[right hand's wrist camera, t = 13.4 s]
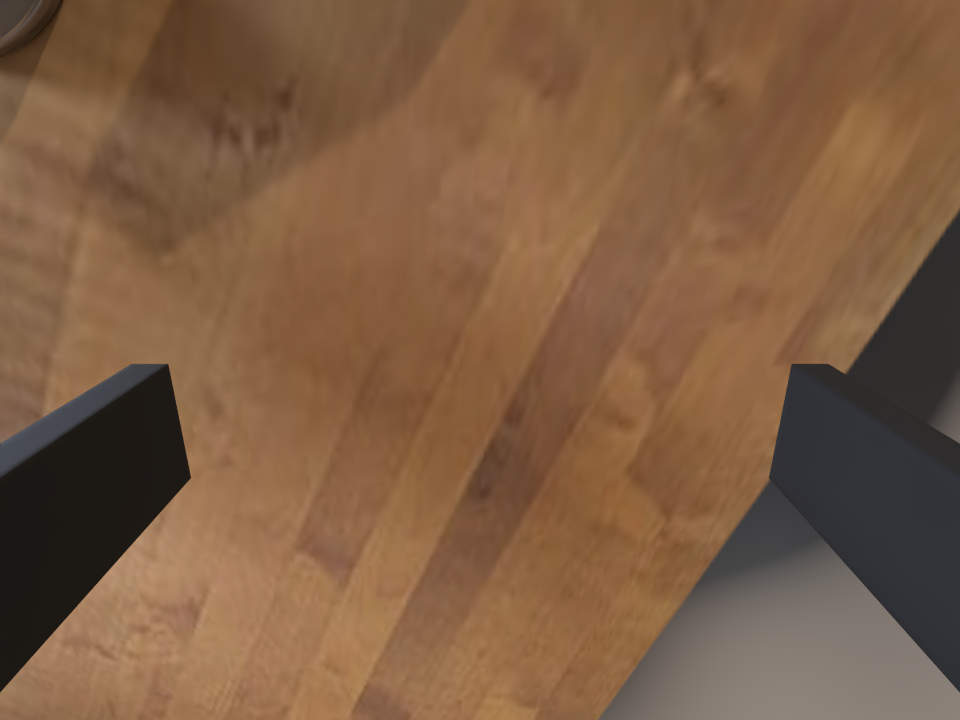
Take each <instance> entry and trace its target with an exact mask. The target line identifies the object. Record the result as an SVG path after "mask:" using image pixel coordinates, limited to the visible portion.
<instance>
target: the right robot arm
mask: <svg viewBox="0 0 960 720" xmlns="http://www.w3.org/2000/svg"><path fill="white" fill-rule="evenodd" d="M60 1H61V0H0V56H2V55H5V54H7V53H10V52H12V51H14V50H16V49H18V48H20V47H22V46H23V45H25V44H26V43H27V42H29V41H30V40H32V39H33V38H34V37H35V36H36V35H37V34H38V33H39V32H40V31H41V30H42V29H43V28H44V27H45V26H46V24H47V23H48V22H49V21H50V19H51V18H52V16H53V14H54V13H55V11H56V10H57V8H58V6H59V3H60ZM190 478H191V476H190V471H189V466H188V461H187V456H186V451H185V446H184V441H183V436H182V431H181V426H180V421H179V416H178V411H177V406H176V401H175V396H174V391H173V386H172V381H171V376H170V371H169V366H168V364H131V365H129V366H128V367H126V368H124V369H123V370H121V371H120V372H118V373H116V374H115V375H113V376H111V377H110V378H108V379H106V380H105V381H103V382H101V383H100V384H98V385H96V386H95V387H93V388H91V389H90V390H88V391H87V392H85V393H83V394H82V395H80V396H78V397H77V398H75V399H73V400H72V401H70V402H68V403H67V404H65V405H63V406H62V407H60V408H58V409H57V410H55V411H54V412H52V413H50V414H49V415H47V416H45V417H44V418H42V419H40V420H39V421H37V422H35V423H34V424H32V425H30V426H29V427H27V428H26V429H24V430H22V431H21V432H19V433H17V434H16V435H14V436H12V437H11V438H9V439H7V440H6V441H4V442H2V443H1V444H0V692H1V691H2V690H3V689H4V687H5V686H6V685H7V684H8V683H9V682H10V681H11V680H12V678H13V677H14V676H15V675H16V674H17V673H18V672H19V671H20V669H21V668H22V667H23V666H24V665H25V664H26V663H27V662H28V660H29V659H30V658H31V657H32V656H33V655H34V654H35V653H36V652H37V650H38V649H39V648H40V647H41V646H42V645H43V644H44V643H45V641H46V640H47V639H48V638H49V637H50V636H51V635H52V634H53V632H54V631H55V630H56V629H57V628H58V627H59V626H60V625H61V623H62V622H63V621H64V620H65V619H66V618H67V617H68V616H69V614H70V613H71V612H72V611H73V610H74V609H75V608H76V607H77V605H78V604H79V603H80V602H81V601H82V600H83V599H84V598H85V596H86V595H87V594H88V593H89V592H90V591H91V590H92V589H93V587H94V586H95V585H96V584H97V583H98V582H99V581H100V580H101V578H102V577H103V576H104V575H105V574H106V573H107V572H108V571H109V569H110V568H111V567H112V566H113V565H114V564H115V563H116V562H117V560H118V559H119V558H120V557H121V556H122V555H123V554H124V553H125V551H126V550H127V549H128V548H129V547H130V546H131V545H132V544H133V542H134V541H135V540H136V539H137V538H138V537H139V536H140V535H141V533H142V532H143V531H144V530H145V529H146V528H147V527H148V526H149V524H150V523H151V522H152V521H153V520H154V519H155V518H156V517H157V515H158V514H159V513H160V512H161V511H162V510H163V509H164V508H165V506H166V505H167V504H168V503H169V502H170V501H171V500H172V499H173V497H174V496H175V495H176V494H177V493H178V492H179V491H180V490H181V488H182V487H183V486H184V485H185V484H186V483H187V482H188V481H189V479H190ZM769 478H770V479H771V481H772V482H773V483H774V484H775V485H776V486H777V487H778V488H779V490H780V491H781V492H782V493H783V494H784V495H785V496H786V497H787V499H788V500H789V501H790V502H791V503H792V504H793V505H794V506H795V508H796V509H797V510H798V511H799V512H800V513H801V514H802V515H803V517H804V518H805V519H806V520H807V521H808V522H809V523H810V524H811V525H812V527H813V528H814V529H815V530H816V531H817V532H818V533H819V535H820V536H821V537H822V538H823V539H824V540H825V541H826V542H827V544H828V545H829V546H830V547H831V548H832V549H833V550H834V551H835V553H836V554H837V555H838V556H839V557H840V558H841V559H842V560H843V562H844V563H845V564H846V565H847V566H848V567H849V568H850V569H851V570H852V572H853V573H854V574H855V575H856V576H857V577H858V578H859V580H860V581H861V582H862V583H863V584H864V585H865V586H866V587H867V589H868V590H869V591H870V592H871V593H872V594H873V595H874V596H875V598H876V599H877V600H878V601H879V602H880V603H881V604H882V605H883V607H884V608H885V609H886V610H887V611H888V612H889V613H890V614H891V616H892V617H893V618H894V619H895V620H896V621H897V622H898V623H899V625H900V626H901V627H902V628H903V629H904V630H905V631H906V632H907V634H908V635H909V636H910V637H911V638H912V639H913V640H914V641H915V642H916V644H917V645H918V646H919V647H920V648H921V649H922V650H923V651H924V653H925V654H926V655H927V656H928V657H929V658H930V659H931V660H932V662H933V663H934V664H935V665H936V666H937V667H938V668H939V669H940V671H941V672H942V673H943V674H944V675H945V676H946V677H947V678H948V679H949V681H950V682H951V683H952V684H953V685H954V686H955V687H956V689H957V690H958V691H959V692H960V444H959V443H958V442H956V441H954V440H953V439H951V438H949V437H948V436H946V435H944V434H943V433H941V432H939V431H938V430H936V429H934V428H933V427H931V426H930V425H928V424H926V423H925V422H923V421H921V420H920V419H918V418H916V417H915V416H913V415H911V414H910V413H908V412H906V411H905V410H903V409H901V408H900V407H898V406H897V405H895V404H893V403H892V402H890V401H888V400H887V399H885V398H883V397H882V396H880V395H878V394H877V393H875V392H873V391H872V390H870V389H868V388H867V387H865V386H864V385H862V384H860V383H859V382H857V381H855V380H854V379H852V378H850V377H849V376H847V375H845V374H844V373H842V372H840V371H839V370H837V369H836V368H834V367H832V366H831V365H829V364H792V366H791V371H790V376H789V381H788V386H787V391H786V396H785V401H784V406H783V411H782V416H781V421H780V426H779V431H778V436H777V441H776V446H775V451H774V456H773V461H772V466H771V471H770V476H769Z"/></svg>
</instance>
